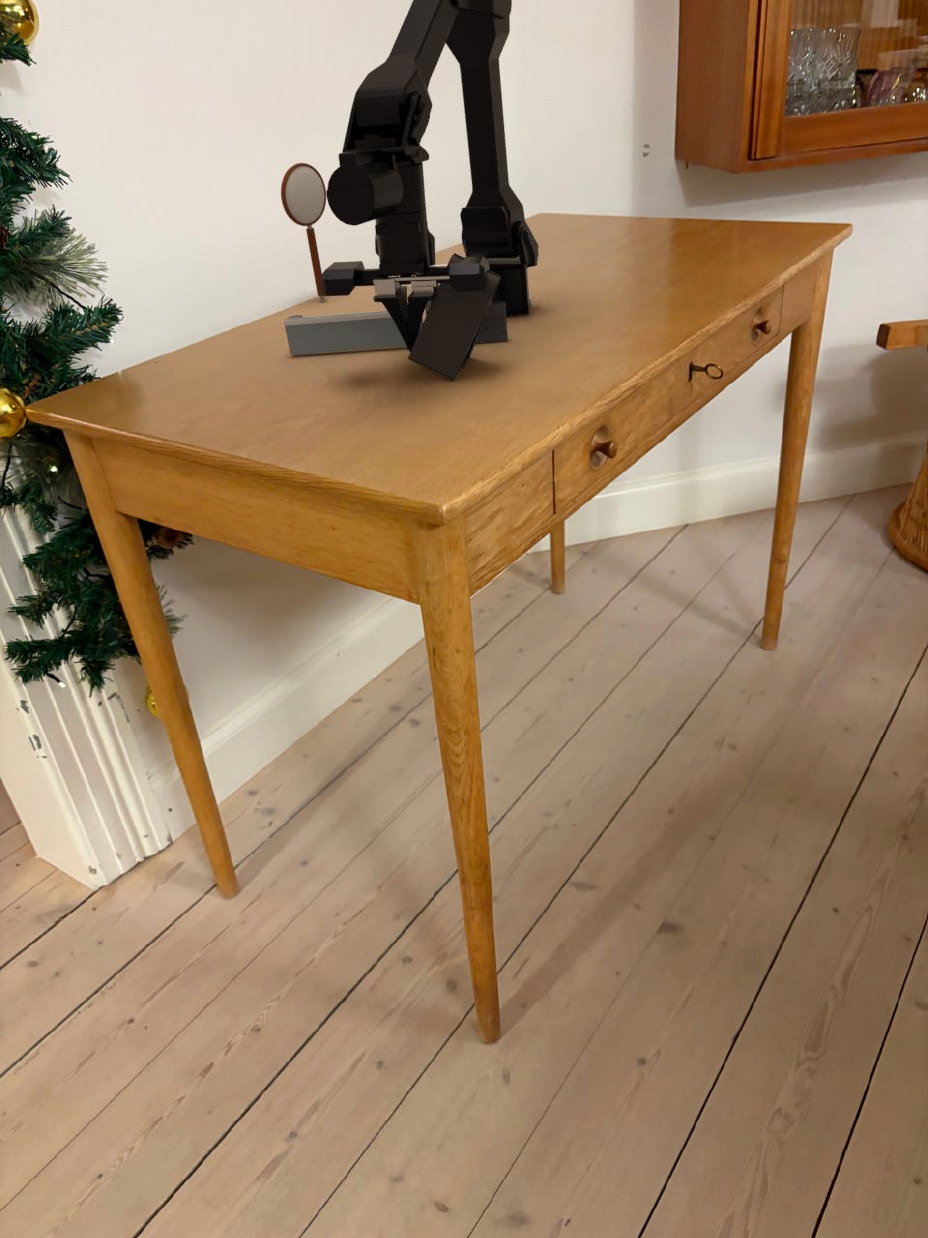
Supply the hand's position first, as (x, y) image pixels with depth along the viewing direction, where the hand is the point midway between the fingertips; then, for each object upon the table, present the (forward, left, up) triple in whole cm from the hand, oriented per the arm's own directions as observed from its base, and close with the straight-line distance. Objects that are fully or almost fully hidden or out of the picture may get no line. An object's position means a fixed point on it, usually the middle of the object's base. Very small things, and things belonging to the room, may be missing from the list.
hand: (412, 351), depth 117 cm
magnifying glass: (+21, -40, -3) cm, 45 cm away
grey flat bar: (+9, -12, -3) cm, 15 cm away
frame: (+4, -13, -3) cm, 14 cm away
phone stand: (-3, -2, -2) cm, 4 cm away
